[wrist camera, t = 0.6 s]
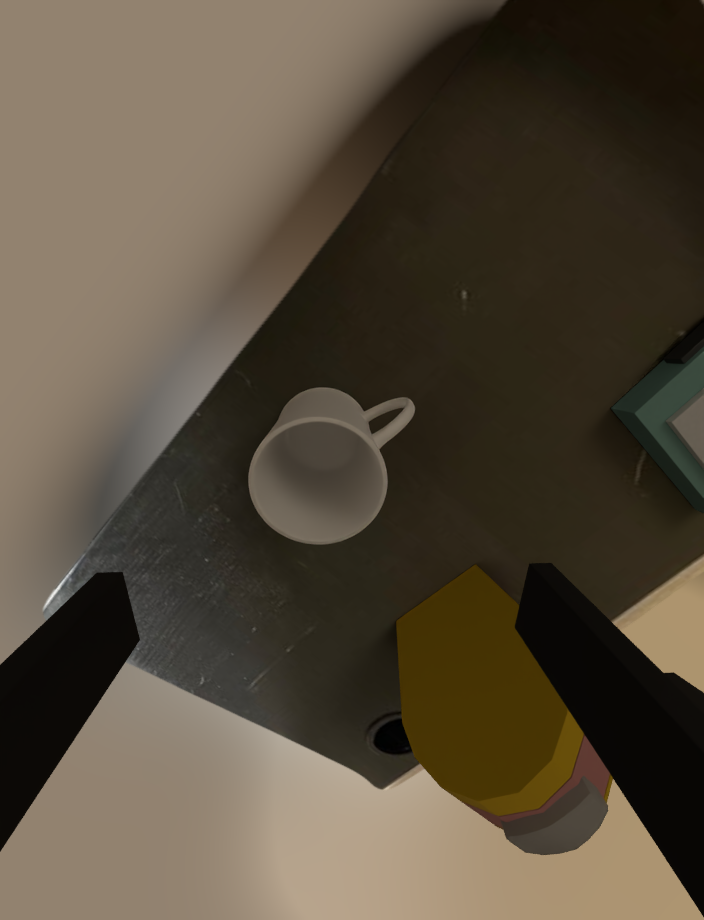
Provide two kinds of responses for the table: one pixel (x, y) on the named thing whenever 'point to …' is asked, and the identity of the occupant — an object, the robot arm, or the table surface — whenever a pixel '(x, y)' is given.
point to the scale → (672, 416)
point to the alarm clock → (496, 720)
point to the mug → (323, 466)
